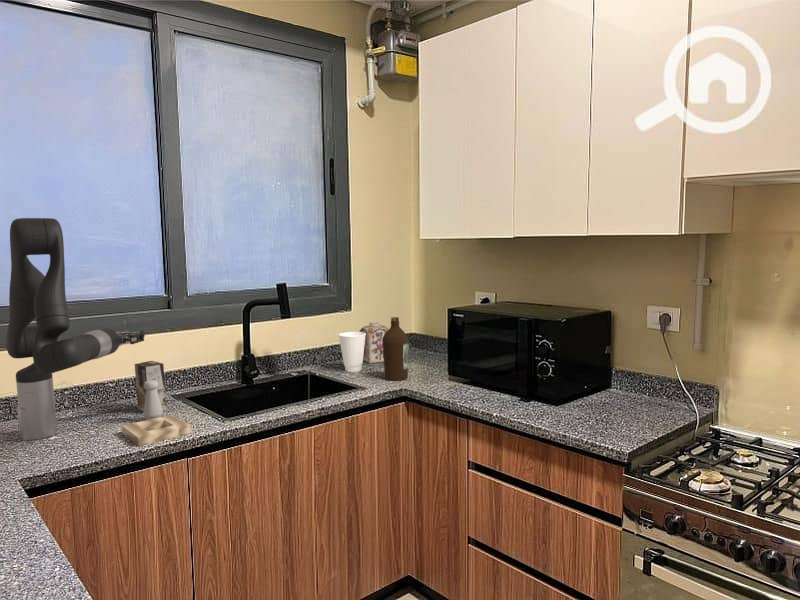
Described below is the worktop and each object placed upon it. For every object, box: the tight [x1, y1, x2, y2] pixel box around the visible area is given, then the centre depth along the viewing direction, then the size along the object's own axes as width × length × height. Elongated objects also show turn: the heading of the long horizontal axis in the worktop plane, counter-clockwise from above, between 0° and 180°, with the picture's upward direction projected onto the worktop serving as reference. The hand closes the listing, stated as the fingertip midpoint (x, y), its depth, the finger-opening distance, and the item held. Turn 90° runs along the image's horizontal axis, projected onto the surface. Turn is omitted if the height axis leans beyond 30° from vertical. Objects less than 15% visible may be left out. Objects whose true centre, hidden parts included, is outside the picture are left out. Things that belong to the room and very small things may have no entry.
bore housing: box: [121, 414, 192, 447], centre depth 172 cm, size 15×15×2 cm
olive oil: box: [382, 316, 410, 382], centre depth 233 cm, size 11×11×25 cm
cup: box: [338, 331, 366, 373], centre depth 250 cm, size 12×12×16 cm
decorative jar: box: [358, 321, 390, 364], centre depth 270 cm, size 12×12×18 cm
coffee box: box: [134, 360, 167, 412], centre depth 197 cm, size 9×6×16 cm
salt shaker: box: [142, 380, 164, 420], centre depth 185 cm, size 6×6×13 cm
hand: (128, 334), depth 172 cm, fingers open, 8 cm apart
